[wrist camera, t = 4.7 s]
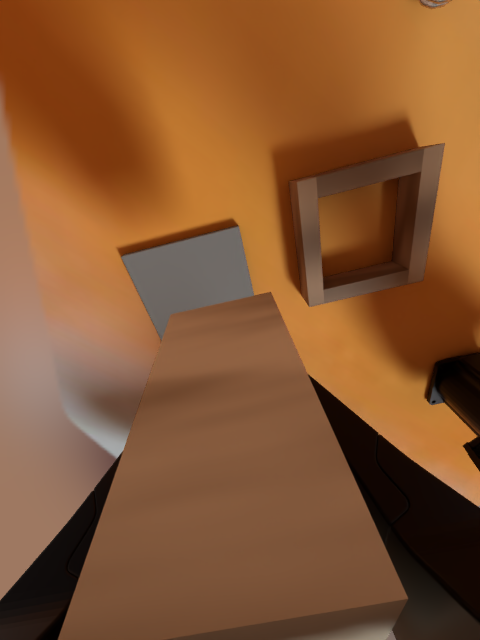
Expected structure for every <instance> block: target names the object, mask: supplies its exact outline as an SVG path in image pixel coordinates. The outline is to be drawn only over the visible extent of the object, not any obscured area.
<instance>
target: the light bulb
mask: <svg viewBox="0 0 480 640" xmlns="http://www.w3.org/2000/svg"><path fill="white" fill-rule="evenodd" d="M418 1H419V3H420V4H421V6H424V7H427V8H429V9H435V8H439V7H443V6H445V5H446V4H448V3H449V2H450V1H452V0H418Z"/></svg>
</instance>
